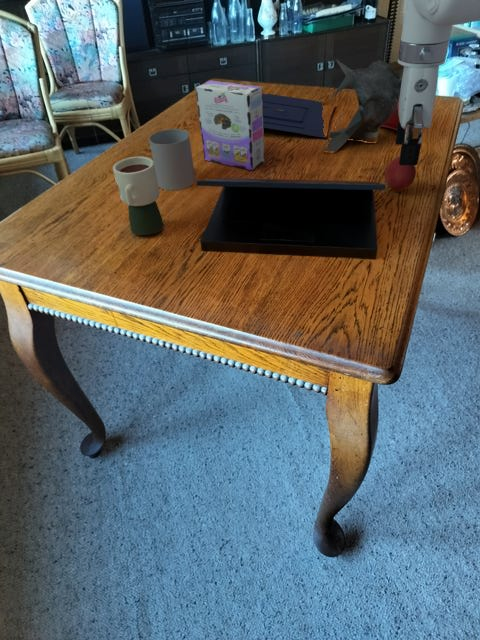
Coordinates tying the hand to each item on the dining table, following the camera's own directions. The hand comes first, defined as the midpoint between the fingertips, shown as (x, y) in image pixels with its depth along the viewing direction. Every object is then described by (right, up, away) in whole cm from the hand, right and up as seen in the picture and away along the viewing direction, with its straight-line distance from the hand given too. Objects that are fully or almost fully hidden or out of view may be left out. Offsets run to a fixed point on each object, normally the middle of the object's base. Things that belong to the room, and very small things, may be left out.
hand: (405, 153), depth 88 cm
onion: (0, -6, +6) cm, 8 cm away
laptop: (-22, -13, 0) cm, 25 cm away
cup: (-46, -1, +15) cm, 48 cm away
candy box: (-33, +6, +21) cm, 39 cm away
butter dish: (+9, +18, +31) cm, 37 cm away
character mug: (-49, -14, +1) cm, 51 cm away
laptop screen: (-22, -7, -4) cm, 23 cm away
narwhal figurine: (-2, +11, +24) cm, 27 cm away
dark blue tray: (-21, +23, +39) cm, 50 cm away
